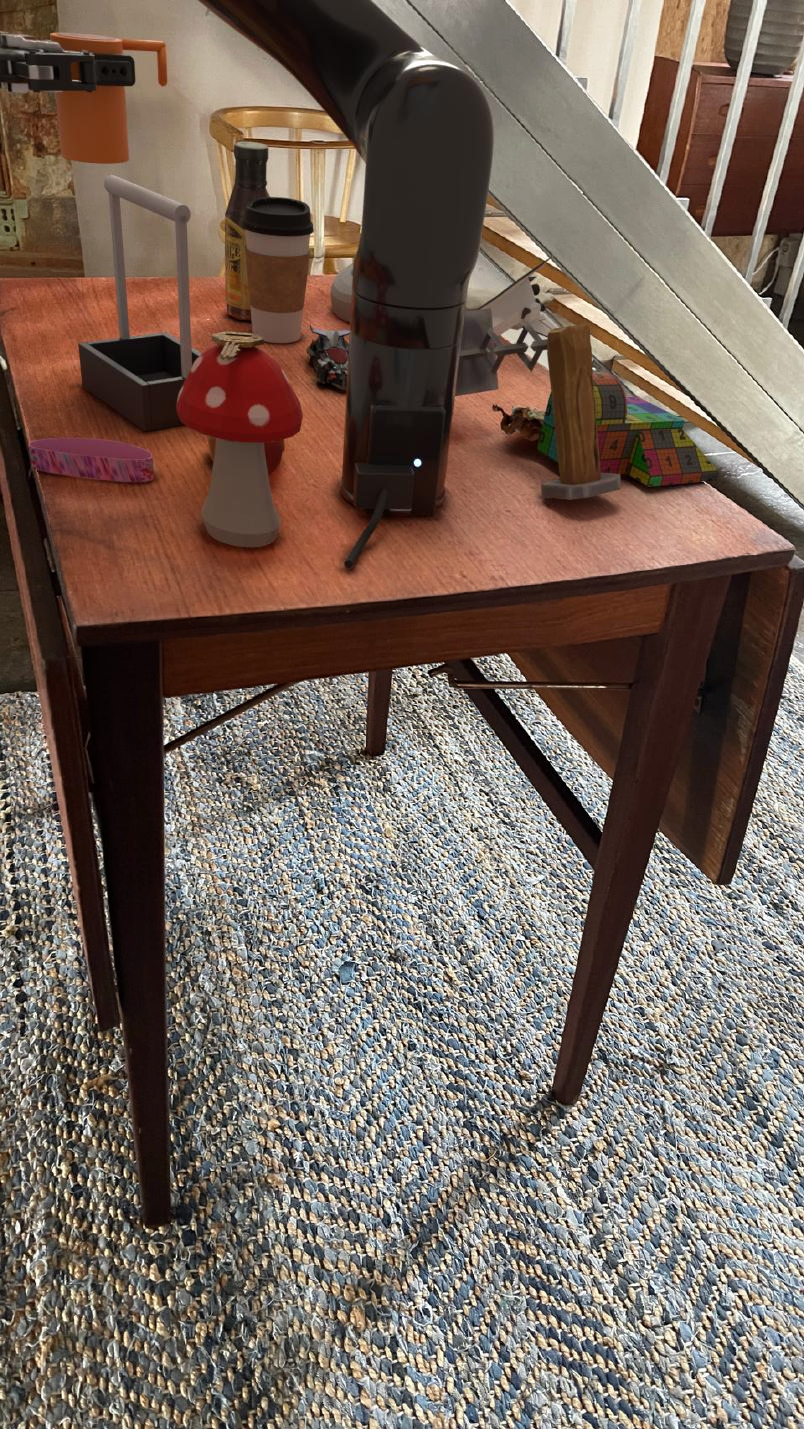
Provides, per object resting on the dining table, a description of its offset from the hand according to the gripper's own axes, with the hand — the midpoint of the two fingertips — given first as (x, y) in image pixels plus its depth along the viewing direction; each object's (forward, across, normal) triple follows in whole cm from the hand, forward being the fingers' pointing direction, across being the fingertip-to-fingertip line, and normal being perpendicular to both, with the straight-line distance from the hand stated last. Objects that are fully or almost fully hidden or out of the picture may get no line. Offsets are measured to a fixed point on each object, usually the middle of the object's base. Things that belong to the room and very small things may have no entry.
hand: (115, 66), depth 88 cm
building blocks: (+34, -37, +29) cm, 58 cm away
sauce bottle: (+27, +22, +29) cm, 45 cm away
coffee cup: (+25, +13, +29) cm, 41 cm away
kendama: (+3, -16, +29) cm, 34 cm away
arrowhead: (+46, +17, +28) cm, 56 cm away
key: (-8, -33, +14) cm, 37 cm away
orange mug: (0, 0, +7) cm, 7 cm away
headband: (-12, -14, +26) cm, 31 cm away
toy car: (+24, -2, +29) cm, 38 cm away
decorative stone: (+46, +15, +27) cm, 55 cm away
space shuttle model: (+46, 0, +24) cm, 52 cm away
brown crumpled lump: (+31, -26, +24) cm, 47 cm away
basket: (+2, -1, +29) cm, 29 cm away
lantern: (+24, -26, +29) cm, 46 cm away
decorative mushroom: (-6, -31, +29) cm, 43 cm away
